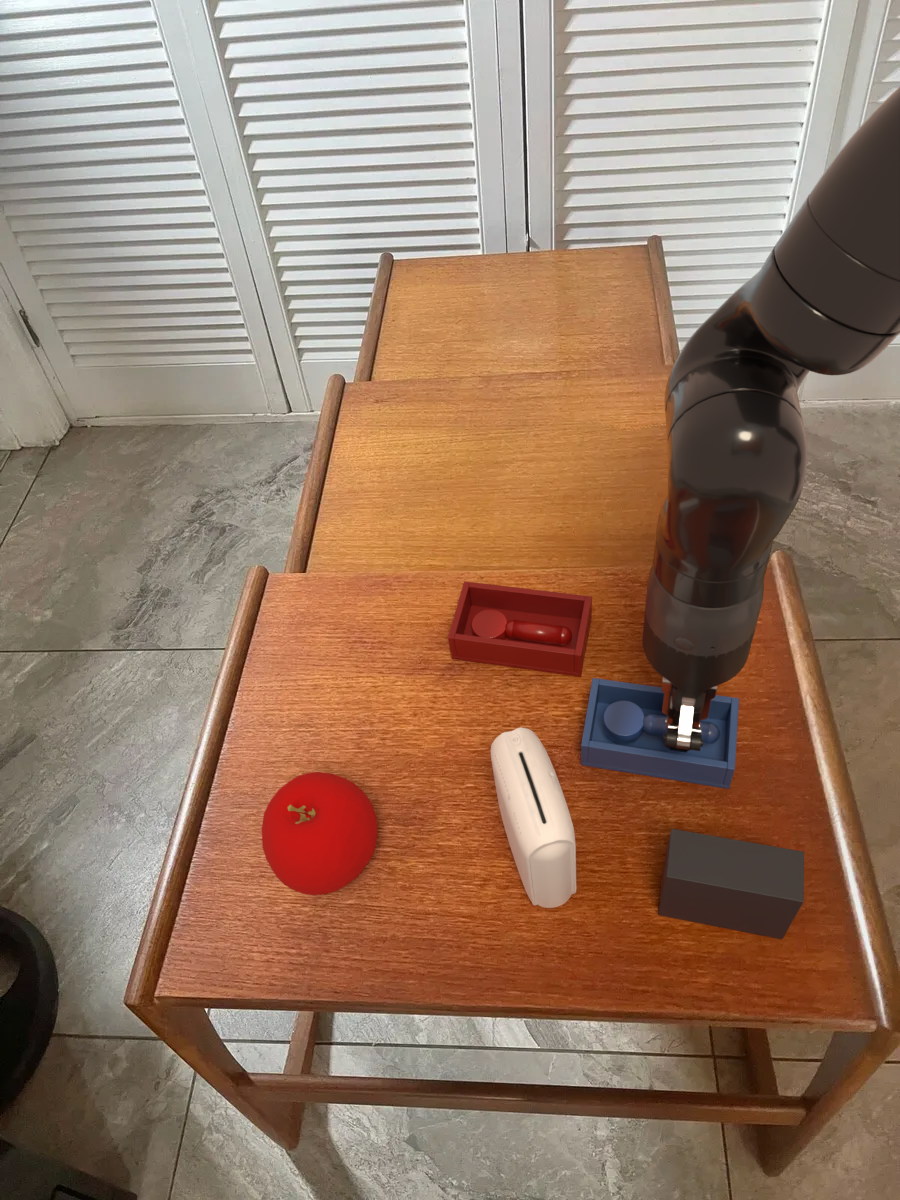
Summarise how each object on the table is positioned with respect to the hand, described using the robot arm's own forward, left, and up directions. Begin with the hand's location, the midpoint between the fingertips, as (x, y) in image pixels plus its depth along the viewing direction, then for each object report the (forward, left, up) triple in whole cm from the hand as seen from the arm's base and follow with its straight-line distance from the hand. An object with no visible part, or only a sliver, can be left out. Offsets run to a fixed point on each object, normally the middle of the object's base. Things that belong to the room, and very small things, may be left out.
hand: (679, 732), depth 75 cm
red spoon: (+15, -9, -2) cm, 18 cm away
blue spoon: (+2, 0, 0) cm, 2 cm away
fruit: (+27, +15, -2) cm, 31 cm away
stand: (-4, +13, -2) cm, 14 cm away
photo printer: (+10, +11, -2) cm, 15 cm away
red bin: (+15, -9, -2) cm, 18 cm away
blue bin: (+2, 0, -2) cm, 3 cm away
